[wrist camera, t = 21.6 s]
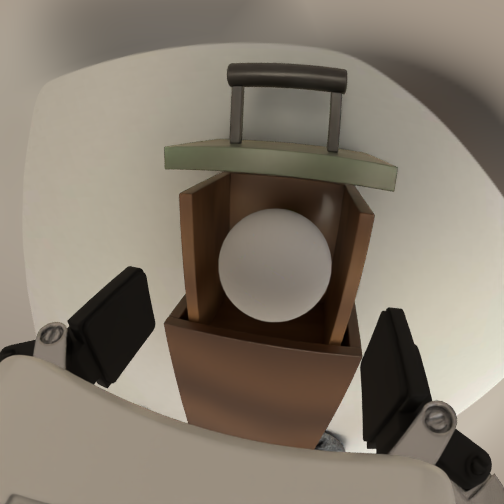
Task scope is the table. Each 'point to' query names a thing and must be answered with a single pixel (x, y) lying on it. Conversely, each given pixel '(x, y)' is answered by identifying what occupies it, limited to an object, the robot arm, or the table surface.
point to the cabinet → (260, 380)
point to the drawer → (277, 204)
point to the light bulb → (275, 265)
